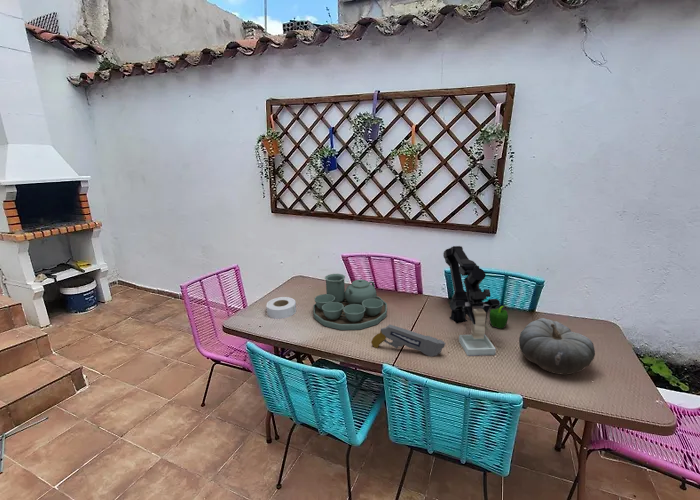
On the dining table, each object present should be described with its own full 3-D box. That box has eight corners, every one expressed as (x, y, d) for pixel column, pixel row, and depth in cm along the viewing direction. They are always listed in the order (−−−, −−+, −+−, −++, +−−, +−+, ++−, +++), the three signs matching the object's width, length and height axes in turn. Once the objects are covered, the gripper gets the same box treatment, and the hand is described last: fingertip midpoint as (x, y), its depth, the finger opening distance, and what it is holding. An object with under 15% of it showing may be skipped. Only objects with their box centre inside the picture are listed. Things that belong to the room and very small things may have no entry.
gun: (428, 376, 146) (445, 345, 139) (369, 346, 150) (383, 316, 143) (429, 370, 149) (445, 341, 143) (370, 342, 153) (384, 312, 147)
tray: (458, 340, 153) (459, 334, 152) (484, 340, 153) (485, 334, 152) (467, 355, 142) (467, 349, 141) (495, 355, 142) (495, 348, 141)
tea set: (300, 324, 172) (298, 294, 168) (331, 293, 208) (330, 268, 203) (375, 337, 159) (375, 305, 154) (395, 301, 194) (395, 274, 190)
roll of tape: (291, 319, 177) (290, 310, 176) (262, 318, 180) (261, 308, 178) (300, 306, 192) (299, 297, 190) (273, 305, 194) (272, 296, 193)
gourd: (528, 331, 154) (539, 300, 146) (591, 361, 139) (607, 328, 131) (506, 361, 138) (516, 327, 130) (575, 398, 123) (591, 363, 115)
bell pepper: (496, 331, 160) (498, 312, 157) (485, 323, 168) (487, 304, 165) (511, 328, 162) (513, 309, 159) (499, 320, 170) (501, 302, 167)
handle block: (471, 333, 148) (473, 308, 145) (480, 333, 148) (482, 308, 145) (474, 338, 144) (476, 313, 141) (483, 338, 144) (486, 313, 141)
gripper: (456, 282, 143) (462, 319, 136) (500, 281, 143) (509, 317, 136) (449, 292, 153) (455, 326, 146) (491, 291, 153) (499, 325, 146)
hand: (479, 324), depth 143 cm, fingers closed on handle block, 4 cm apart
